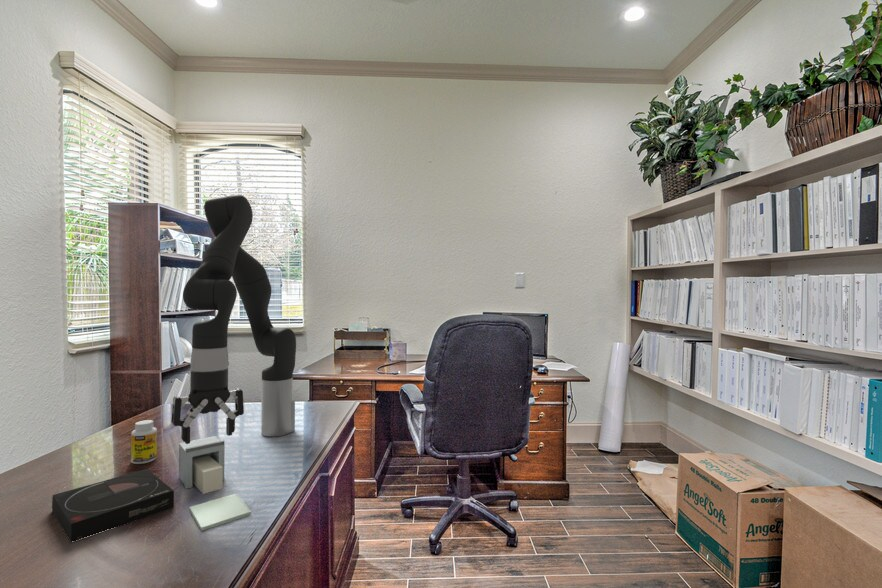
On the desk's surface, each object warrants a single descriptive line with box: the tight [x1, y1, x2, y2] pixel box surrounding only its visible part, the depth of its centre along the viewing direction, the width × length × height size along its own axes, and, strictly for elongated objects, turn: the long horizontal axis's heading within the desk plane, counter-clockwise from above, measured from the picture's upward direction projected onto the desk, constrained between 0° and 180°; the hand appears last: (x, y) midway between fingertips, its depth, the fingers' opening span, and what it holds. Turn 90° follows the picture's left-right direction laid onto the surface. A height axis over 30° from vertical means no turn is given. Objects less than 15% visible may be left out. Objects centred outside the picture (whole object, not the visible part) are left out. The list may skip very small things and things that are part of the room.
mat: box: [189, 493, 252, 532], centre depth 87 cm, size 9×10×1 cm
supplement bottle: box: [130, 419, 158, 465], centre depth 112 cm, size 6×6×10 cm
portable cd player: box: [51, 468, 175, 543], centre depth 88 cm, size 16×17×4 cm
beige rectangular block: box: [192, 455, 224, 495], centre depth 100 cm, size 4×10×5 cm, turn 45°
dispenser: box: [178, 435, 226, 489], centre depth 103 cm, size 8×8×9 cm
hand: (208, 438), depth 97 cm, fingers open, 8 cm apart
